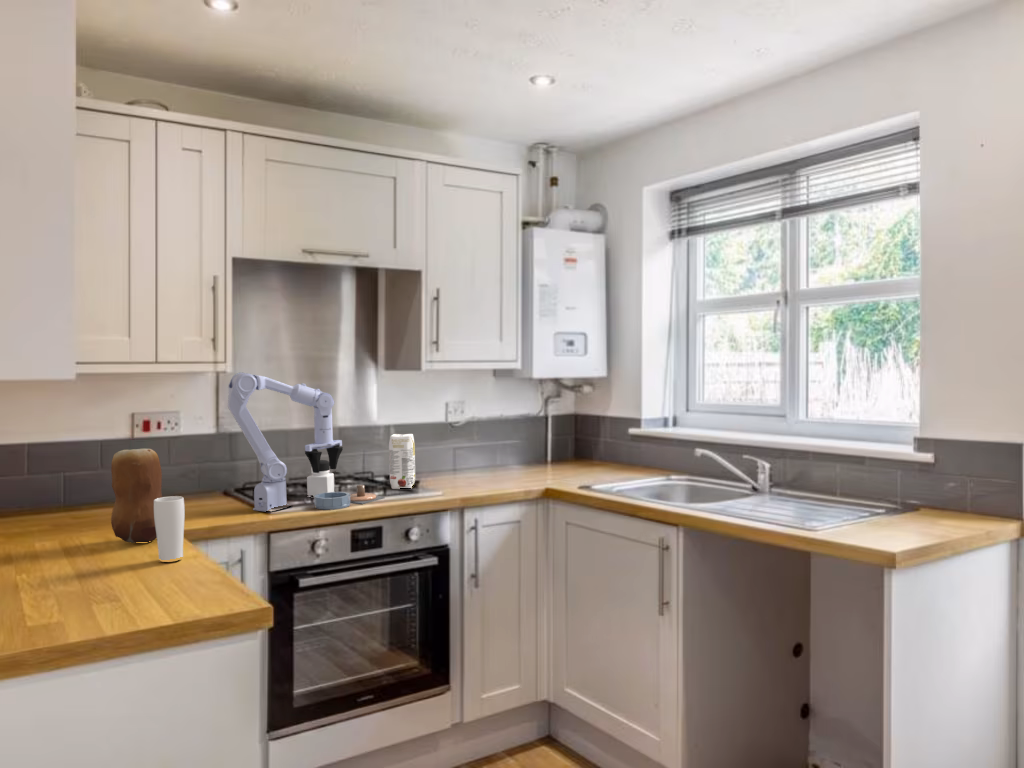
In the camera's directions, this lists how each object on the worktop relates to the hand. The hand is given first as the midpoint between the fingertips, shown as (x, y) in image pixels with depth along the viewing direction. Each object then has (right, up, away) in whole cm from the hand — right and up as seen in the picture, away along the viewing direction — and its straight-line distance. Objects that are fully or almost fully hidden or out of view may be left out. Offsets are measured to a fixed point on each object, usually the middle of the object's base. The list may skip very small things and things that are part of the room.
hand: (324, 470), depth 252 cm
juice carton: (+22, -9, +25) cm, 34 cm away
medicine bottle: (-4, -10, +13) cm, 17 cm away
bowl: (+4, -11, -5) cm, 12 cm away
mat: (+11, -10, +5) cm, 15 cm away
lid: (+11, -10, +5) cm, 15 cm away
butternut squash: (-37, -14, -48) cm, 62 cm away
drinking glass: (-21, -15, -66) cm, 70 cm away
